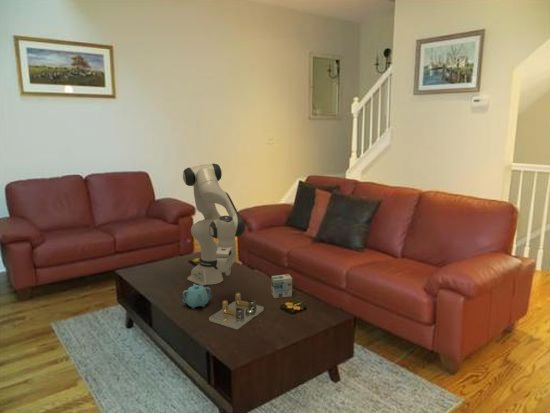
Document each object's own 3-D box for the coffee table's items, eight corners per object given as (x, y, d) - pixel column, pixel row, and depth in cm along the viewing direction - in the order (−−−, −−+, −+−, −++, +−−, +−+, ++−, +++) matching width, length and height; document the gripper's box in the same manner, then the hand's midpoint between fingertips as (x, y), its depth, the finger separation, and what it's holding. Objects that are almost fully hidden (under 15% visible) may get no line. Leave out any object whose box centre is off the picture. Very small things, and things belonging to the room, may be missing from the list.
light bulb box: (274, 298, 230) (274, 280, 228) (271, 293, 237) (270, 275, 235) (292, 296, 233) (292, 278, 231) (289, 291, 240) (289, 273, 237)
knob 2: (233, 304, 219) (233, 294, 217) (238, 301, 222) (238, 291, 221) (253, 309, 212) (253, 299, 211) (257, 306, 216) (257, 296, 215)
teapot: (196, 298, 232) (194, 279, 230) (217, 303, 225) (215, 283, 223) (180, 308, 221) (178, 288, 219) (202, 312, 214) (200, 292, 212)
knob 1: (220, 312, 209) (220, 302, 208) (225, 309, 213) (225, 299, 212) (240, 318, 203) (240, 307, 202) (245, 314, 207) (245, 304, 205)
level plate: (209, 321, 205) (208, 314, 205) (236, 303, 225) (236, 297, 224) (238, 329, 197) (238, 322, 196) (264, 310, 216) (264, 304, 215)
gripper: (227, 242, 220) (228, 267, 223) (214, 254, 201) (215, 281, 204) (238, 242, 219) (239, 267, 222) (227, 255, 200) (228, 282, 202)
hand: (228, 274), depth 213 cm, fingers closed
